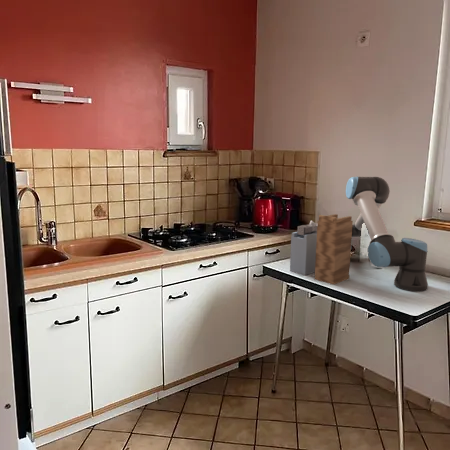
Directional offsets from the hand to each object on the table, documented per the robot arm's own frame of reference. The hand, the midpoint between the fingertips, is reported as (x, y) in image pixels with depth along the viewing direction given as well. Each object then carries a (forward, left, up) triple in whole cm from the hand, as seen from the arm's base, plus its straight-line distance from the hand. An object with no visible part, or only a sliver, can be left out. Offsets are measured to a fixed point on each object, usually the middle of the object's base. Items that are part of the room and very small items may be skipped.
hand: (314, 223), depth 244 cm
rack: (0, +6, -25) cm, 26 cm away
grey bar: (0, 0, -5) cm, 5 cm away
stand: (-18, +8, -25) cm, 32 cm away
